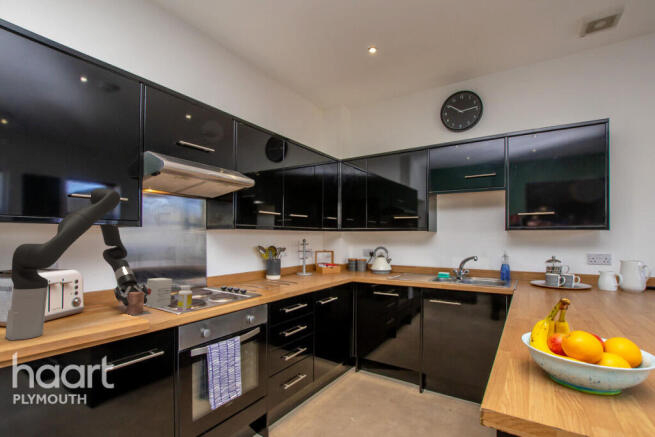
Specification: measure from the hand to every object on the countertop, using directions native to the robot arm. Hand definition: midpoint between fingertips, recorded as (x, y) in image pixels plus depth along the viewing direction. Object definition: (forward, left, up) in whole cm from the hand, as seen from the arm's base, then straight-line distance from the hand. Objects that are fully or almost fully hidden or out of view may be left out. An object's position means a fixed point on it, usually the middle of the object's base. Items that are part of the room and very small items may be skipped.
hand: (136, 304), depth 151 cm
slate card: (0, +1, -5) cm, 5 cm away
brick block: (0, +1, -5) cm, 5 cm away
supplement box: (+18, +11, -5) cm, 22 cm away
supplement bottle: (+19, -10, -5) cm, 22 cm away
